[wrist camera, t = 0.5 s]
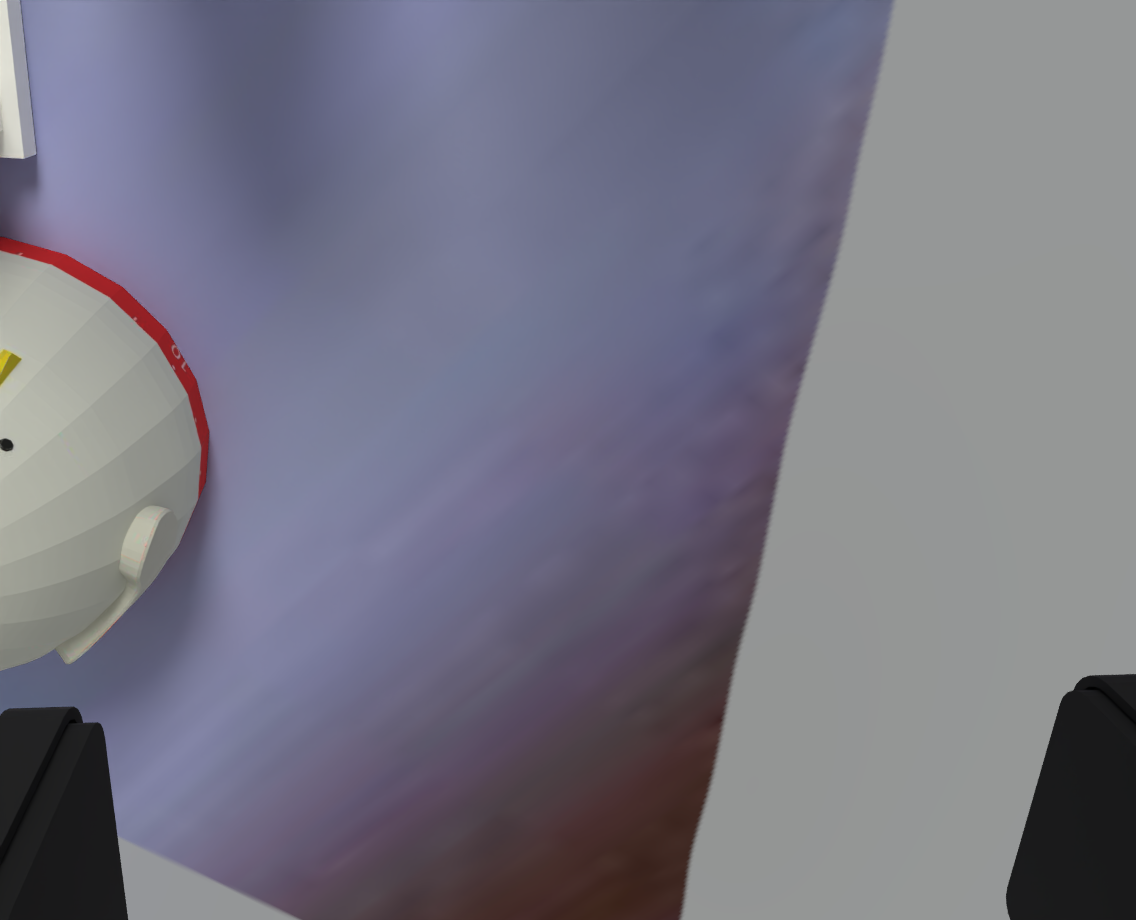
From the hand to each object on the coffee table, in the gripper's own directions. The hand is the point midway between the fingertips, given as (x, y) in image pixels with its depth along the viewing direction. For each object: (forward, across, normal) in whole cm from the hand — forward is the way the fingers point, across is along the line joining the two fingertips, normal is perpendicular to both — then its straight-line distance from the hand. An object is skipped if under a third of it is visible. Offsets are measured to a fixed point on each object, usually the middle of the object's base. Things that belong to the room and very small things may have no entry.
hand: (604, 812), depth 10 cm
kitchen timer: (+29, +16, +7) cm, 34 cm away
